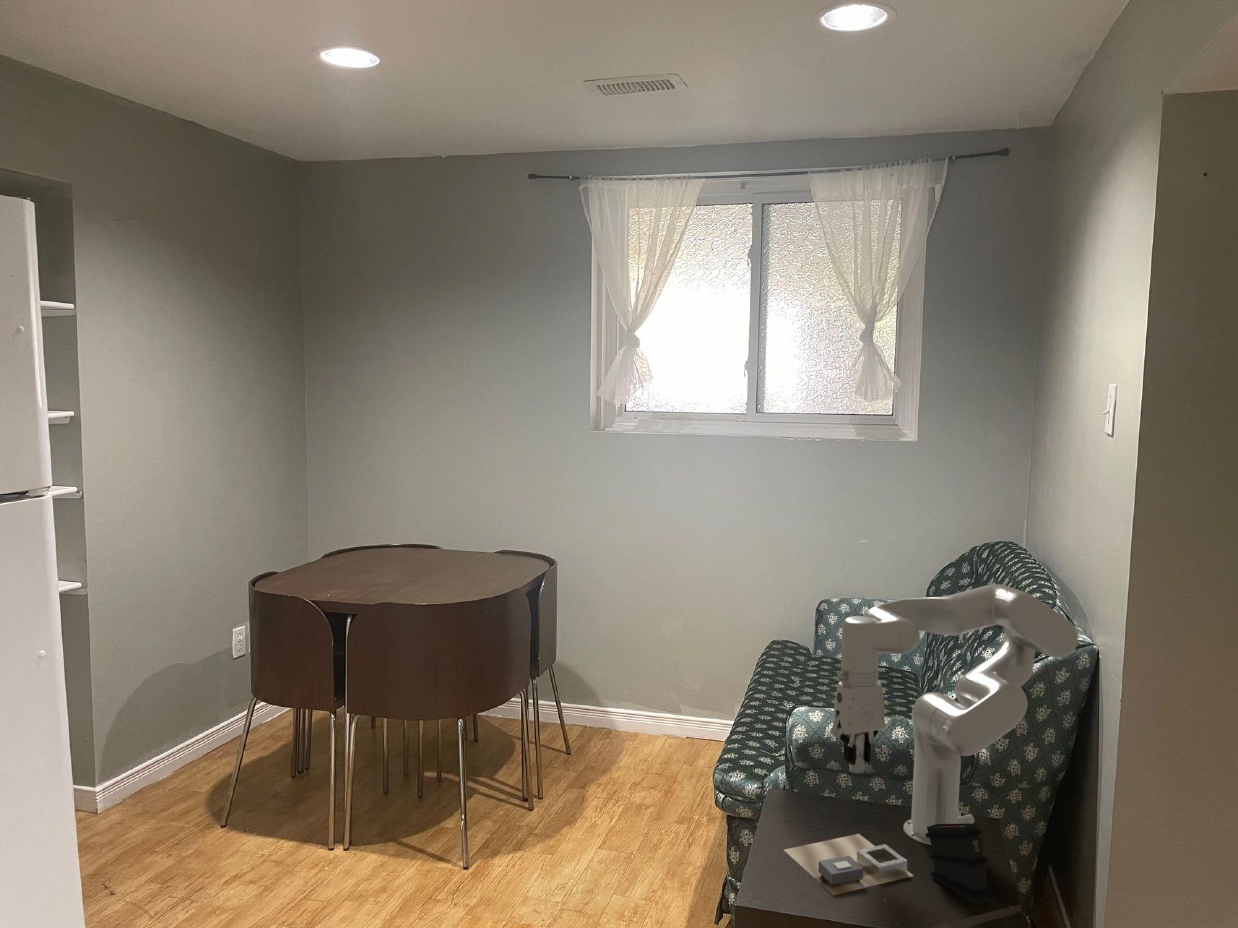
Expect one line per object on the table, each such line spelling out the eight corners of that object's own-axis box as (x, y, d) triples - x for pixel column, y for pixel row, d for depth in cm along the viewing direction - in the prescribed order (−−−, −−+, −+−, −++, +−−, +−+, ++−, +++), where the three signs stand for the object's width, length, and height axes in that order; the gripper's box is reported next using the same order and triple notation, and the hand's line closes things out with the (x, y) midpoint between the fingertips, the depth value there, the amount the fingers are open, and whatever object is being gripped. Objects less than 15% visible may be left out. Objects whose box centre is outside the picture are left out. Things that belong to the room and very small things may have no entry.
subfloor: (858, 837, 205) (858, 833, 205) (913, 880, 189) (913, 875, 188) (783, 854, 198) (783, 849, 198) (833, 899, 181) (833, 894, 181)
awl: (858, 765, 202) (860, 706, 200) (869, 772, 198) (871, 712, 197) (843, 768, 200) (845, 708, 199) (854, 775, 197) (856, 715, 195)
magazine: (987, 911, 175) (964, 826, 180) (938, 907, 186) (917, 827, 191) (1002, 906, 177) (978, 822, 181) (952, 902, 188) (931, 823, 192)
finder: (848, 869, 190) (849, 853, 190) (862, 882, 186) (863, 866, 185) (818, 875, 188) (818, 859, 188) (831, 888, 183) (832, 872, 183)
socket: (884, 855, 196) (885, 843, 196) (906, 872, 190) (907, 860, 189) (856, 861, 193) (857, 850, 193) (878, 879, 187) (878, 867, 187)
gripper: (836, 687, 190) (834, 774, 192) (903, 676, 196) (900, 761, 198) (815, 675, 197) (813, 760, 199) (880, 666, 203) (877, 747, 205)
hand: (857, 760), depth 199 cm, fingers closed on awl, 3 cm apart
